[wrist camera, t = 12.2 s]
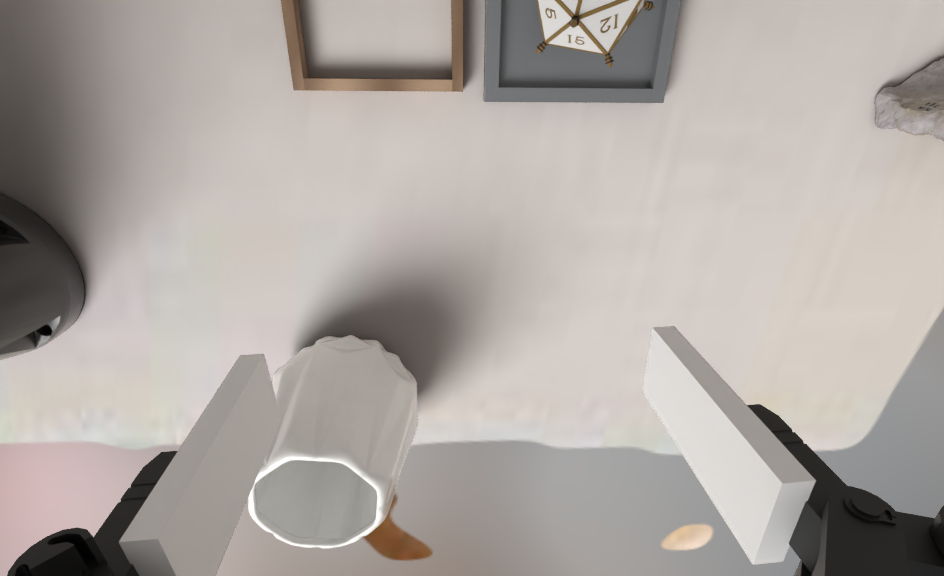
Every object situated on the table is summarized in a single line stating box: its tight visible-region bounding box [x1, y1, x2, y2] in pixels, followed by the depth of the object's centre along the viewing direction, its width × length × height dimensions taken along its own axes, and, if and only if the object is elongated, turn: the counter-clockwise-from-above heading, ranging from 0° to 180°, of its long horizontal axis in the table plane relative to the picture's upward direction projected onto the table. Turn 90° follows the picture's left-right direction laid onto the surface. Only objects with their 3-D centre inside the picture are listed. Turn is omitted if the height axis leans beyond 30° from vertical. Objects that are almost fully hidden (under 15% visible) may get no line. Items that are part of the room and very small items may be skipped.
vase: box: [248, 335, 418, 549], centre depth 41 cm, size 14×14×15 cm
